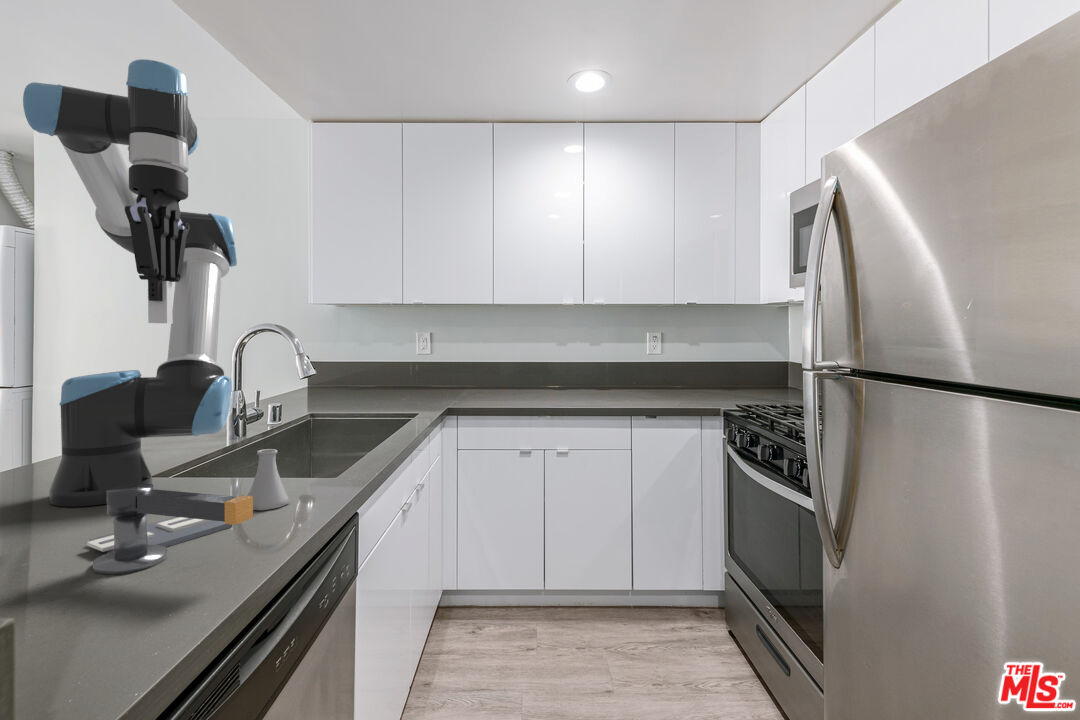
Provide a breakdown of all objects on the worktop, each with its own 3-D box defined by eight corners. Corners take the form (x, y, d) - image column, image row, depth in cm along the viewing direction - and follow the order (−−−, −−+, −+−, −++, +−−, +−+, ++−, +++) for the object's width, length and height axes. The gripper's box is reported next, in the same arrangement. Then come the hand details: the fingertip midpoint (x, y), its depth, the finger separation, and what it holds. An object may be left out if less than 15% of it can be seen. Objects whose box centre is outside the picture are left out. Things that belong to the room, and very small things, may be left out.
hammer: (96, 514, 71) (96, 492, 71) (132, 503, 76) (132, 482, 76) (229, 528, 67) (229, 504, 67) (258, 515, 72) (258, 493, 72)
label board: (79, 547, 78) (79, 538, 78) (196, 516, 92) (196, 507, 92) (115, 562, 73) (115, 552, 73) (232, 526, 87) (232, 518, 87)
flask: (259, 514, 94) (259, 456, 93) (236, 506, 98) (236, 451, 97) (297, 504, 100) (297, 449, 99) (274, 497, 104) (274, 445, 103)
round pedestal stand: (80, 566, 72) (80, 517, 71) (148, 546, 79) (147, 501, 78) (111, 579, 68) (111, 528, 68) (179, 557, 75) (179, 511, 75)
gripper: (158, 180, 90) (159, 323, 91) (103, 154, 77) (105, 321, 78) (206, 182, 91) (207, 324, 92) (159, 157, 78) (161, 322, 79)
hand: (160, 323), depth 85 cm, fingers closed
